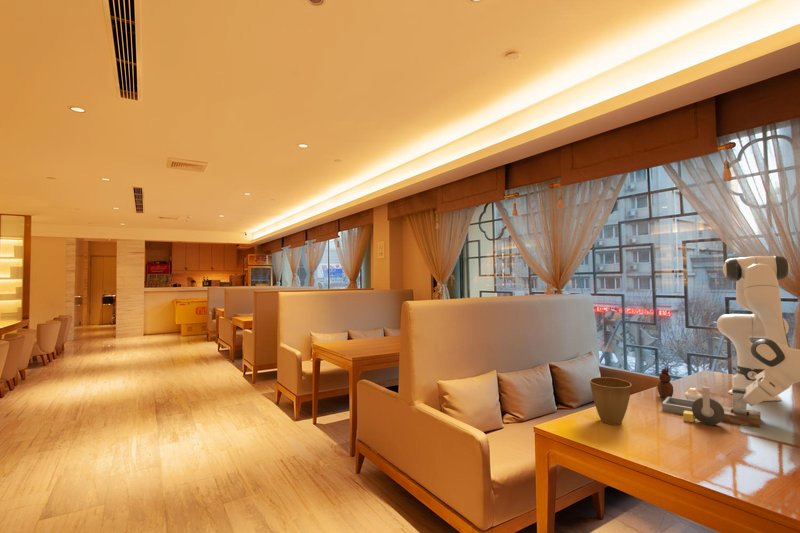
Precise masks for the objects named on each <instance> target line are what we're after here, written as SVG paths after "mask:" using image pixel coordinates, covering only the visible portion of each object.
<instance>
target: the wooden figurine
mask: <svg viewBox="0 0 800 533" xmlns="http://www.w3.org/2000/svg"><path fill="white" fill-rule="evenodd" d="M669 373H670V372H669V366H664V368H662V369H661V372H660V374H659V376H658V377H659V378H658V379H659V381H658V383H657V391H658V395H659V396H660V397H661V398H664V399H666V398H667V397H668V396H669V397H673V395H674V386H673V384H672V383H671V381H672V378H671V375H670V374H669Z"/></svg>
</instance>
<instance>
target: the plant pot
mask: <svg viewBox="0 0 800 533" xmlns="http://www.w3.org/2000/svg"><path fill="white" fill-rule="evenodd" d="M589 385H590V388H591V389H590V390H591V395H592V398H593V402H594V405H595V409H596V411H597V414H598V416H599V419H600V421H601V423H604V424H606V425H611V426H619V425H621V424H622V423H623V420H624V418H625V416H626V413H627V410H628V406H629V402H630V398H631V392H632V383H631V382H629V381H627V380H624V379H620V378H616V377H608V376H607V377H606V376H603V377H601V376H599V377H597V376H596V377H593V378H590V379H589Z"/></svg>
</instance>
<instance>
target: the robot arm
mask: <svg viewBox="0 0 800 533" xmlns="http://www.w3.org/2000/svg"><path fill="white" fill-rule="evenodd" d="M790 270H791V266H790V263H789V262H788V259H787V258H786V257H785V256H780V255H773V256H770V255H755V256H745V257H734V258H733V257H731V258H728V259H726V260H725V261H724V263H723V267H722V273H723V275H724V276H725V278H726V279H727V280H728V281H732V282H735V284H736V285H735V292H736V294H735V300H736V301H735V302H736V303H737V305H738V306H739V307H740V308H742V309H745V310H747V311H750V312H751V313H729V314H728V313H727V314H722V315H720V316H719V317H718V319H717V321H716V327H717V329H718V331H719V332H720V334H721V335H724V336H725V337H727V338H728V339H729V340H730V341H731V343H732V344H733V345H734V347H735V351H736V356H737V357H736V358H737V365H736V368H735V369H736V374H735V375H734V376H732V388H731V389H729V390H728V391H727V392H728V394H730V395H733V394H732V389H733V387H734V388H741V389H746V393H745V394H744V397H743V398H742V399H741V400H739V401H737V402H736V405H737V406H738V407H741V406H742V405H745V404H746V405H750V406H751V407H753V406H756V405H758V404H760V403H762V402H771V401H773V402H774V401H782V398H781V396H779V395H780V394H782V393H784V392H785V391H787V390H788V389H790V387H791V386H792V385H793V384H796V383H800V349H799V348H793V347H791V346H790V344H789V340H788V336H787V334H788V332H789V329H790V326H789V323H788V321H787V320H786V319H785V318H784V317H783V310H782V309H783V308H782V301H781V300H782V299H781V291H780V285H779V281H780V280H784V279H785V278H787V277H788V275H789V273H790ZM752 338H754V339H755V338H758V339H757V340H755V341H753V342H752V341H751V340H750V339H752Z"/></svg>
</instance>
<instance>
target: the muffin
mask: <svg viewBox="0 0 800 533" xmlns="http://www.w3.org/2000/svg"><path fill="white" fill-rule="evenodd" d="M684 396H685V399H687V400H694V401H695V400H697V399H698V398H701V397H702V394H700V392H699V391H698V389H697V388H695V387H690V388H689V387H688V389H687V391H686V392H684Z"/></svg>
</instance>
